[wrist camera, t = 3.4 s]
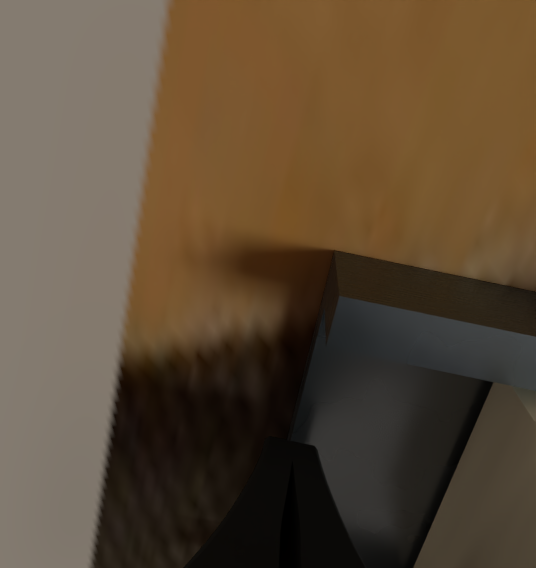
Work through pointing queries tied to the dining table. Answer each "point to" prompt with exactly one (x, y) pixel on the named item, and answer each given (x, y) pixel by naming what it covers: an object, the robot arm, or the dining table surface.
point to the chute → (404, 391)
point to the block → (491, 491)
